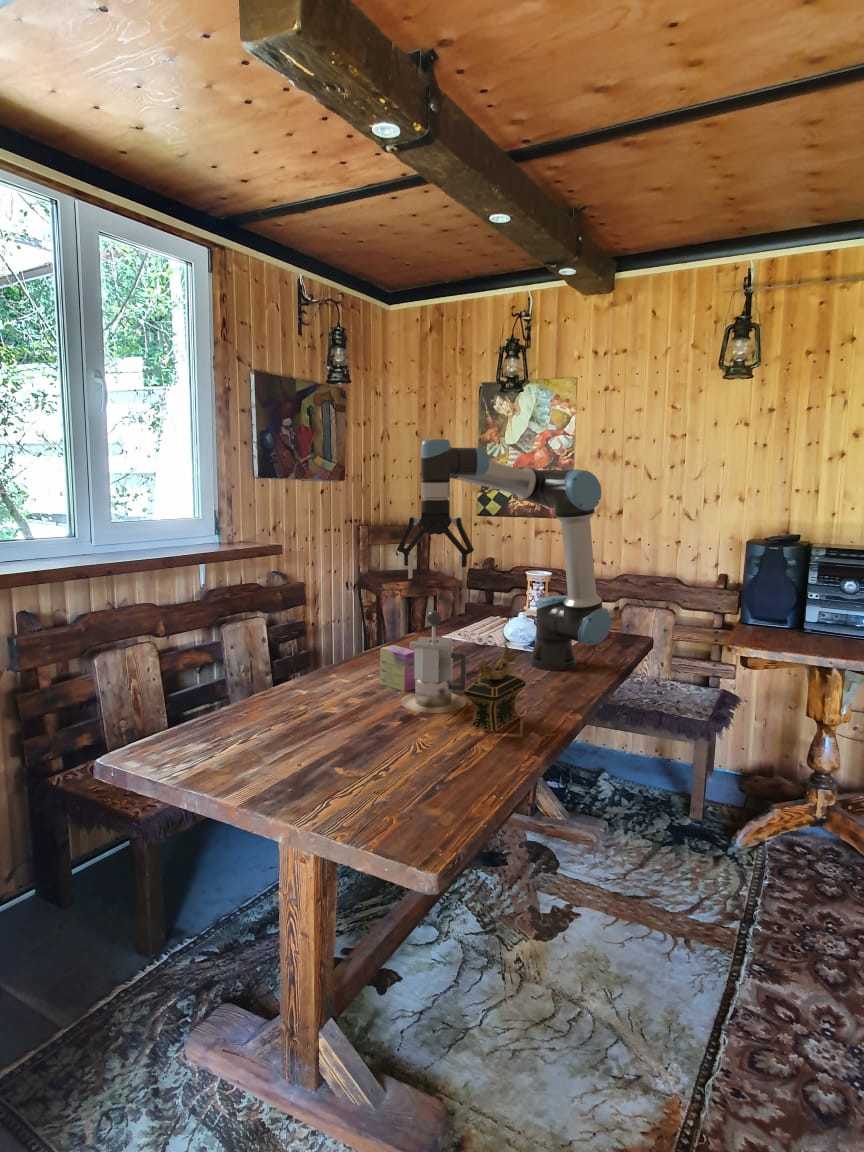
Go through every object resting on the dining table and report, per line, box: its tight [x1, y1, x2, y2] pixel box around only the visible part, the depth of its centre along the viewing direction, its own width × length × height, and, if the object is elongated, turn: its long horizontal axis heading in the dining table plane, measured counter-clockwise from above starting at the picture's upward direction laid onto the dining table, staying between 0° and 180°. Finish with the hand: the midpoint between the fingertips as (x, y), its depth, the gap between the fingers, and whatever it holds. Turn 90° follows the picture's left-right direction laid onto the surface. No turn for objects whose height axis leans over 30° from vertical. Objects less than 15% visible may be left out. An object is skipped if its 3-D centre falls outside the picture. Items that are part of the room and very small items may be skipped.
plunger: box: [426, 610, 442, 642], centre depth 190 cm, size 4×4×17 cm
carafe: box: [408, 636, 467, 708], centre depth 191 cm, size 15×10×17 cm, turn 82°
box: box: [379, 644, 415, 692], centre depth 206 cm, size 10×6×12 cm, turn 47°
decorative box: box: [463, 642, 527, 735], centre depth 178 cm, size 20×10×20 cm, turn 146°
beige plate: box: [400, 692, 467, 714], centre depth 192 cm, size 18×18×1 cm
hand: (435, 578), depth 187 cm, fingers open, 13 cm apart
